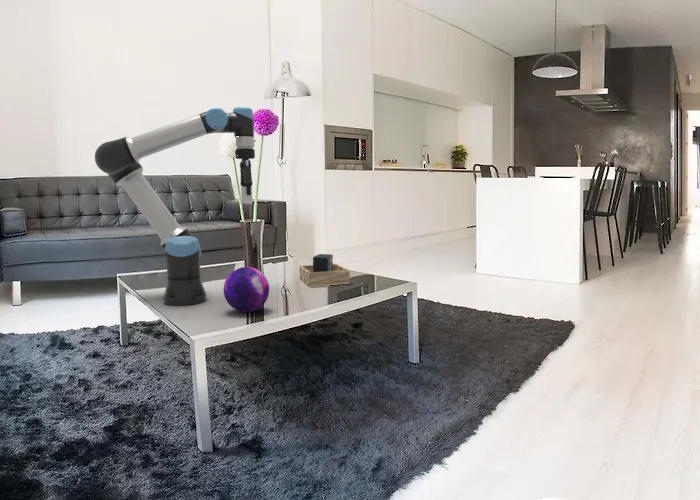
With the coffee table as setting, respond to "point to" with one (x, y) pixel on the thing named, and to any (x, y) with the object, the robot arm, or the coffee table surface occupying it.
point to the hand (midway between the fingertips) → (246, 203)
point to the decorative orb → (246, 289)
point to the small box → (323, 263)
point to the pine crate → (324, 276)
